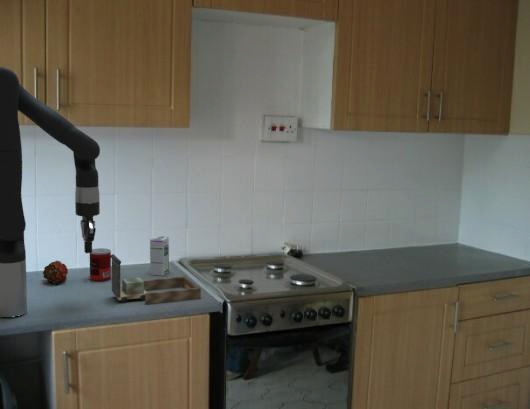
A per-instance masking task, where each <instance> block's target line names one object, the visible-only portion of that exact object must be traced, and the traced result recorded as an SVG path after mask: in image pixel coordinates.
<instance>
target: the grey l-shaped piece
mask: <svg viewBox="0 0 530 409" xmlns="http://www.w3.org/2000/svg"><path fill="white" fill-rule="evenodd" d="M121 264H122V260H120V259H119V258H118V257H117V256H116V255H115V254H112V253H111V292H112V294H113V295H114V297H115V298H116V299H117V300H118V301H121V302H122V303H123V304H125V303H127V302H128V300H136V299H140V300H141V301H143V302H145V293H148V291H145V290H144V281H143V280H144V279H142V278H141V277H128V278H122V279H121Z"/></svg>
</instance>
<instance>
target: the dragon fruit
mask: <svg viewBox="0 0 530 409" xmlns="http://www.w3.org/2000/svg"><path fill="white" fill-rule="evenodd" d="M68 270H69V269H68V267H67V265H66V264H65V263H62V261H60V260H55V261H51V262H50V263H49V264H47V265H46V266H44V268H43V271H42V275H43V276H42V277H43V278H44V279H46V281H48V282H49V281H51V282H50V283H52V284H56V283H57V284H58V283H60V282H65V281H66V280H67V275H68V274H69V271H68Z"/></svg>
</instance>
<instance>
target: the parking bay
mask: <svg viewBox="0 0 530 409" xmlns="http://www.w3.org/2000/svg"><path fill="white" fill-rule="evenodd" d="M142 280H143V281H144V290H145V291H146V292H147V293H145V300H144V304H145V305H154V304H162V303H169V302H180V301H188V300H189V301H190V300H198V299H199V300H200V299H201V298H202V297H201V295H202V292H201V291H202V289H201V287H200V286H198V285H197V284H196V283H194V282H193V281H192V280H190V279H189V278H188V277H187V276H174V277H165V278H155V279H154V278H153V279H142ZM174 288H175V289H174ZM176 288H182V289H176ZM165 289H171V290H165ZM172 289H173V290H172ZM155 290H157V291H155ZM158 290H162V291H158ZM148 291H153V292H148Z"/></svg>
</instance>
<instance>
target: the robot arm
mask: <svg viewBox="0 0 530 409" xmlns="http://www.w3.org/2000/svg"><path fill="white" fill-rule="evenodd" d="M18 113H21V114H22V115H24V116H25V117H27V118H28V119H29V120H30V121H32V123H34V124H35V125H36V126H38V127H39V129H42V130H43V131H44V132H45V133H46V134H48V135H49V136H50V137H52V138H53V139H54V140H55V141H57V142H58V143H60V144H62V145H64V146H66V147H67V148H68V149H69V150H71V151H72V153H73V162H74V166H75V167H74V168H75V191H74V193H75V195H74V198H75V200H74V204H75V215H76V216H78V217H81V219H80V229H81V236H82V237H81V238H82V239H83V242H84V243H83V248H84V253H85V254H90V253H92V249H93V242H94V241H95V236H96V230H97V229H96V227H95V226H96V220H94V216H95V217H96V216H99V215H100V213H101V212H100V211H101V210H100V209H101V208H100V206H101V205H100V188H99V172H98V169H97V167H96V159H97V158H98V157H99V156H100V153H101V147H100V146H99V143H98V142H97V141H96V140H95V139H93V137H91V136H89V135H88V134H86V133H85V132H83V131H82V130H80V129H79V128H77V127H76V126H75V124H72V122H71V121H69V120H68V119H67V118H65V117H64V116H63V115H61V114H60V113H59V112H57V111H56V110H55V109H53V108H51V106H48V105H46V104H45V103H44V102H42V101H41V100H39V99H37V98H36V97H35V96H34V95H33V94H30V92H29V91H27V89H25V87H23V86H22V85H21V83H20V80H19V77H18V75H17V74H16V73H15V72H14V71H13V70H12V69H10V68H7V67H5V66H4V67H3V66H1V67H0V318H2V317H12V316H18V315H22V314H24V315H26V314H27V313H28V294H27V293H28V292H27V291H28V290H27V289H28V288H27V287H28V286H27V257H26V255H27V254H26V246H25V230H26V227H27V225H26V224H27V223H26V219H25V213H24V212H25V211H24V207H23V200H22V199H23V198H22V187H23V186H22V184H23V152H22V151H23V150H22V149H23V148H22V147H23V146H22V138H21V137H22V136H21V128H20V123H19V114H18ZM26 312H27V313H26ZM25 313H26V314H25ZM22 316H23V315H22Z"/></svg>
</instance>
